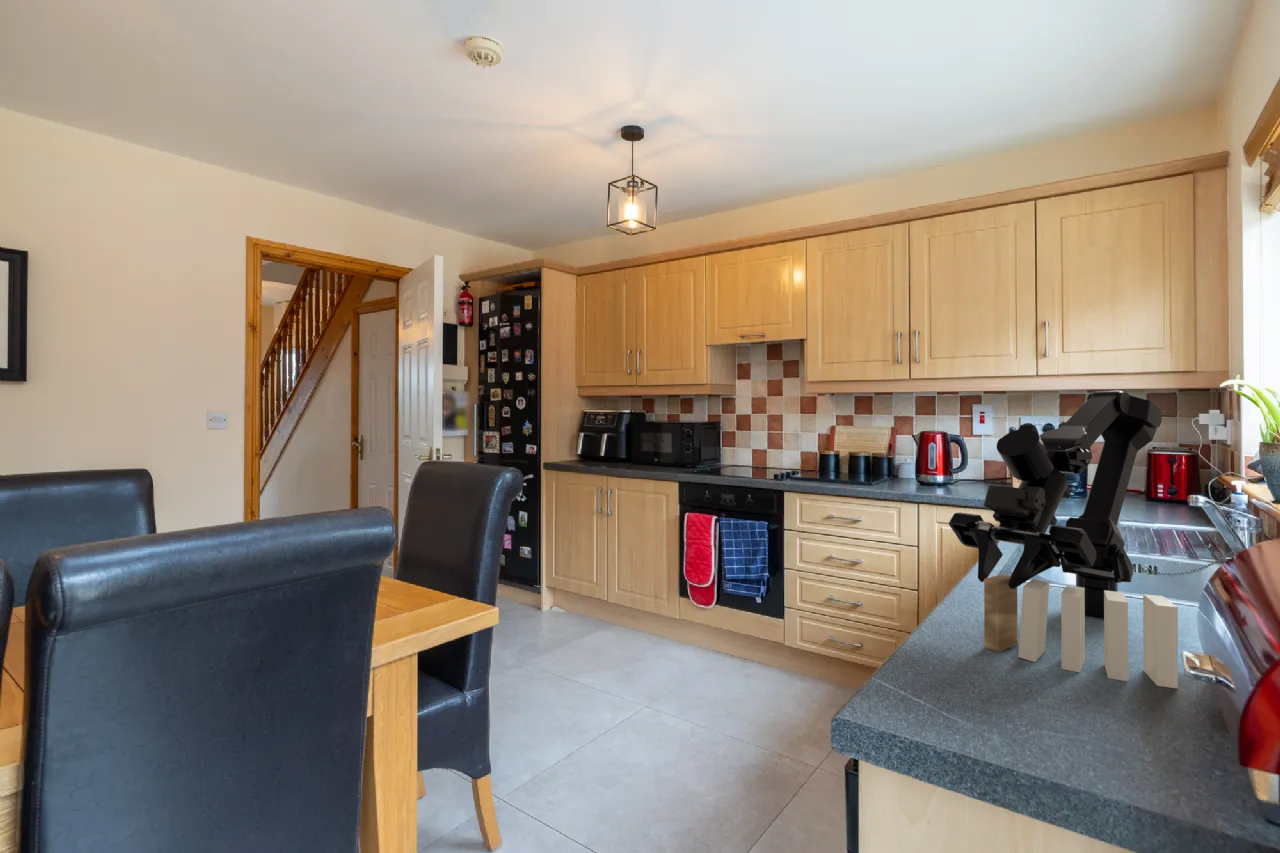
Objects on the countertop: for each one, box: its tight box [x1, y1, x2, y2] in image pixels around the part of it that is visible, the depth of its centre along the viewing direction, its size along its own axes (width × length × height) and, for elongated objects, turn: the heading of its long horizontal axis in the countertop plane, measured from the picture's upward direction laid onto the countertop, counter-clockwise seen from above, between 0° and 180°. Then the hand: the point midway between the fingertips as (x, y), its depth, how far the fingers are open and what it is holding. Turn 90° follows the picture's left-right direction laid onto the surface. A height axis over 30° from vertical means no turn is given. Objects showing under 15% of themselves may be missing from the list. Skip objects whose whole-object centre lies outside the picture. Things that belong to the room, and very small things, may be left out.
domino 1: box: [983, 573, 1019, 653], centre depth 90 cm, size 2×5×10 cm, turn 121°
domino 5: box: [1142, 593, 1179, 689], centre depth 78 cm, size 2×5×10 cm, turn 156°
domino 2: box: [1018, 578, 1051, 663], centre depth 86 cm, size 2×5×10 cm, turn 134°
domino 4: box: [1103, 590, 1129, 682], centre depth 80 cm, size 2×5×10 cm, turn 148°
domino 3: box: [1060, 585, 1086, 673], centre depth 83 cm, size 2×5×10 cm, turn 139°
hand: (995, 583), depth 89 cm, fingers open, 4 cm apart
